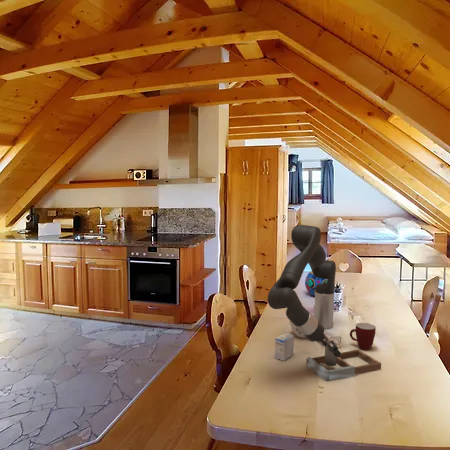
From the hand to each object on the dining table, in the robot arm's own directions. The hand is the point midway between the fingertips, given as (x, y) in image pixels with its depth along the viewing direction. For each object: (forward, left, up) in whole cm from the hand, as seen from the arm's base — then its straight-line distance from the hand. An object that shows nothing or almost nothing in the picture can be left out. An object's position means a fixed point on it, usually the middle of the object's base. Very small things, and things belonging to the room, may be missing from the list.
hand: (334, 352), depth 147 cm
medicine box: (-16, -13, -7) cm, 22 cm away
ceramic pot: (-85, +51, -7) cm, 99 cm away
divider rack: (0, +4, -7) cm, 8 cm away
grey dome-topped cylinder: (0, -2, -4) cm, 5 cm away
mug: (-12, +23, -7) cm, 27 cm away
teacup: (-33, +7, -7) cm, 34 cm away
